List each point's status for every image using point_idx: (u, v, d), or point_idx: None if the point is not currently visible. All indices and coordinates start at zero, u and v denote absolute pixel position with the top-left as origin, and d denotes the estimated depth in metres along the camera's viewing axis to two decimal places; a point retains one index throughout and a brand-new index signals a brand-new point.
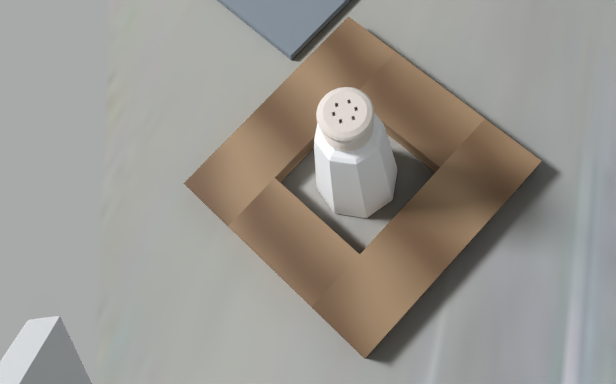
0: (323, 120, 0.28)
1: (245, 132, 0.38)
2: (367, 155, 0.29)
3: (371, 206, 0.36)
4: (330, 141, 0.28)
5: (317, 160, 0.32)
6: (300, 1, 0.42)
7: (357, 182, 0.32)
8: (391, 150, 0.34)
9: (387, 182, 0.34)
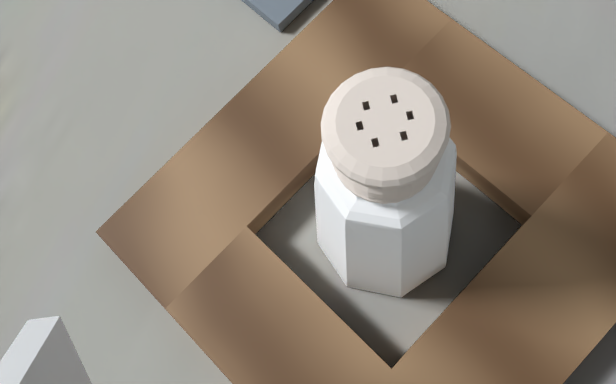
0: (336, 140, 0.12)
1: (200, 147, 0.23)
2: (425, 211, 0.14)
3: (412, 282, 0.21)
4: (350, 183, 0.13)
5: (320, 209, 0.17)
6: None
7: (397, 255, 0.16)
8: (454, 189, 0.19)
9: (445, 246, 0.19)
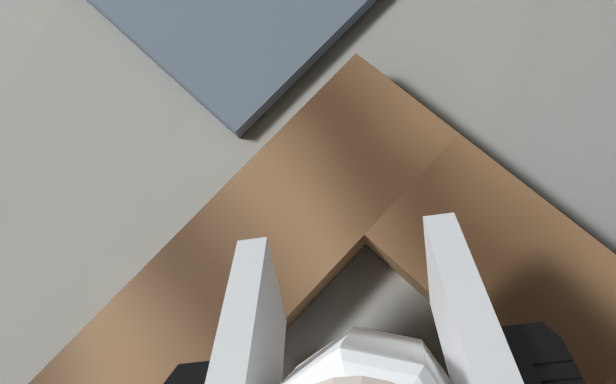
0: None
1: (129, 307, 0.17)
2: None
3: None
4: None
5: None
6: (259, 20, 0.21)
7: None
8: None
9: None
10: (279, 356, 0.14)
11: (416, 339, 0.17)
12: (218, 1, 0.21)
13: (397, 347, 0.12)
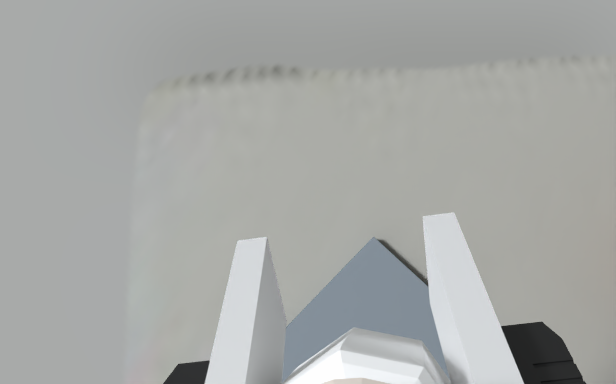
0: None
1: None
2: None
3: None
4: None
5: None
6: None
7: None
8: None
9: None
10: (279, 356, 0.14)
11: (416, 340, 0.17)
12: None
13: (397, 349, 0.12)
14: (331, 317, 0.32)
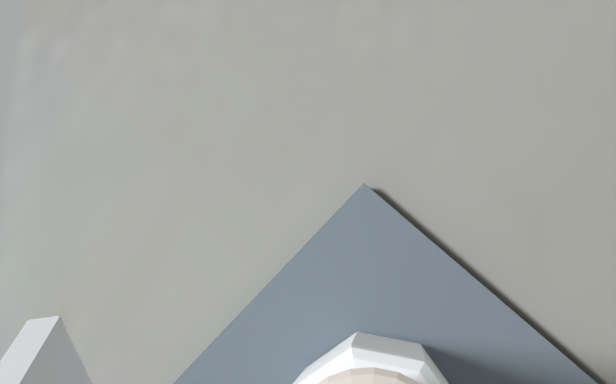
0: None
1: None
2: None
3: None
4: None
5: None
6: None
7: None
8: None
9: None
10: None
11: (415, 343, 0.18)
12: None
13: (399, 348, 0.13)
14: (298, 310, 0.20)
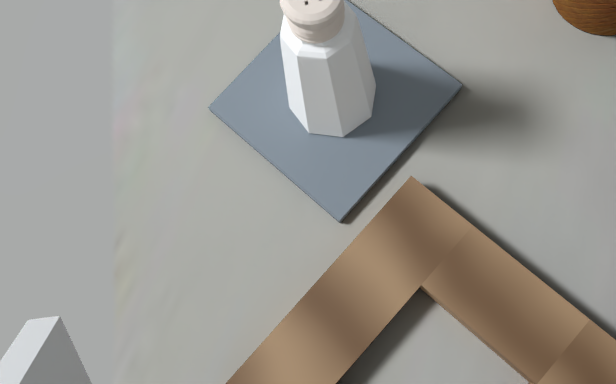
0: (287, 3, 0.25)
1: (289, 328, 0.31)
2: (339, 49, 0.27)
3: (347, 121, 0.33)
4: (296, 30, 0.25)
5: (285, 64, 0.29)
6: (348, 149, 0.34)
7: (330, 86, 0.29)
8: (367, 55, 0.31)
9: (363, 91, 0.31)
10: None
11: None
12: (322, 136, 0.35)
13: None
14: None
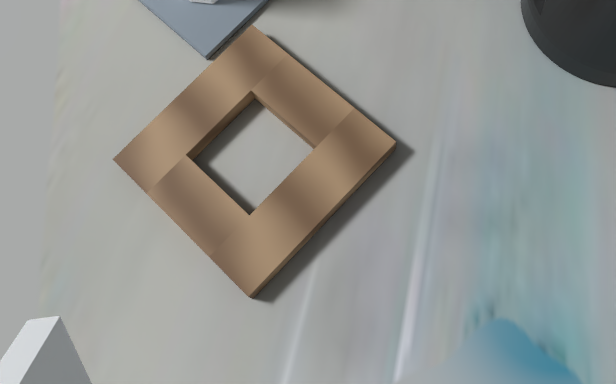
0: None
1: (164, 118, 0.47)
2: None
3: None
4: None
5: None
6: (215, 11, 0.50)
7: None
8: None
9: None
10: None
11: None
12: (199, 3, 0.51)
13: None
14: None
